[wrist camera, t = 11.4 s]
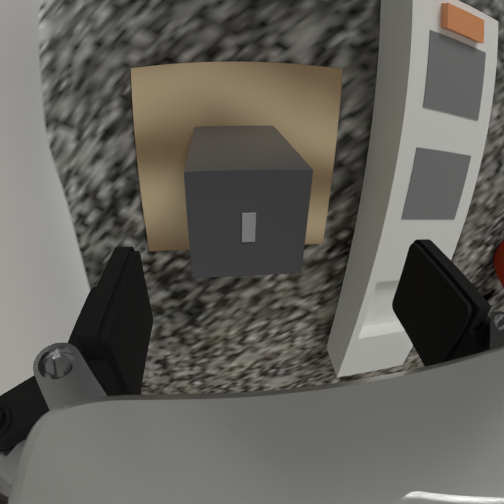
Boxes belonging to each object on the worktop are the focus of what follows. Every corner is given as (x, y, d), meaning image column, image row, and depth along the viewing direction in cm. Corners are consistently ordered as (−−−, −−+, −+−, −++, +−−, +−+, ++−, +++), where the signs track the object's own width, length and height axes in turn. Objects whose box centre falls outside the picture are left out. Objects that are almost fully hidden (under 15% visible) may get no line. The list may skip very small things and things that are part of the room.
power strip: (388, 337, 31) (404, 369, 27) (326, 347, 30) (338, 382, 26) (458, -65, 10) (495, -73, 6) (376, -100, 9) (408, -121, 6)
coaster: (320, 240, 23) (322, 243, 23) (150, 248, 22) (149, 251, 21) (340, 68, 17) (342, 69, 16) (132, 68, 15) (130, 68, 15)
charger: (271, 195, 20) (303, 273, 14) (197, 198, 20) (192, 279, 13) (274, 125, 18) (315, 170, 11) (194, 126, 17) (183, 172, 11)
